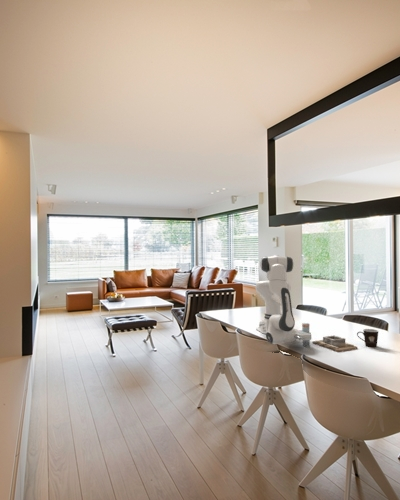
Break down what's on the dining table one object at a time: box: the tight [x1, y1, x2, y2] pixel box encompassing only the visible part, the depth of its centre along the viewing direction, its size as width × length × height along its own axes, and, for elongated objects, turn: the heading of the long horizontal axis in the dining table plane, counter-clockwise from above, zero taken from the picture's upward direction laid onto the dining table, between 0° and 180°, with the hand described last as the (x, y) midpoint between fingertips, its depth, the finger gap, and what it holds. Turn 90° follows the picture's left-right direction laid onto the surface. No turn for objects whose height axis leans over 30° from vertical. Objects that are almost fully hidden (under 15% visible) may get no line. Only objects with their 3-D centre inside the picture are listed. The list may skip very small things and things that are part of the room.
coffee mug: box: [356, 328, 379, 349], centre depth 216 cm, size 12×9×10 cm
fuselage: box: [301, 322, 311, 347], centre depth 218 cm, size 4×4×14 cm
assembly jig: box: [311, 335, 358, 353], centre depth 216 cm, size 22×16×5 cm
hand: (306, 332), depth 219 cm, fingers closed on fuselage, 4 cm apart
